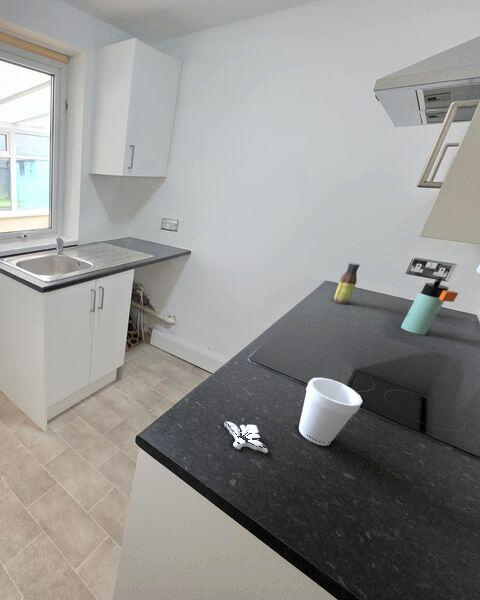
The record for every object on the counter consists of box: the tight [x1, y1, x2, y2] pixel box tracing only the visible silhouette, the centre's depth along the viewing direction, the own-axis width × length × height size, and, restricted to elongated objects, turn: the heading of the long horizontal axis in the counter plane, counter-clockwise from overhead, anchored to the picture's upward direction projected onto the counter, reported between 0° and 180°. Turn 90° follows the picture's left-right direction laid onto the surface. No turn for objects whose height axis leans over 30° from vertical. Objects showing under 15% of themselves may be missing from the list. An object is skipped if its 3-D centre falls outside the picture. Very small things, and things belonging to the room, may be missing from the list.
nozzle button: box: [439, 290, 459, 303], centre depth 117 cm, size 2×4×4 cm, turn 77°
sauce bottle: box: [333, 262, 361, 305], centre depth 153 cm, size 7×6×20 cm
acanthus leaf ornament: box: [223, 421, 269, 454], centre depth 71 cm, size 8×7×2 cm
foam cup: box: [298, 377, 363, 446], centre depth 71 cm, size 10×9×13 cm
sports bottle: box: [400, 276, 450, 336], centre depth 126 cm, size 8×8×23 cm
